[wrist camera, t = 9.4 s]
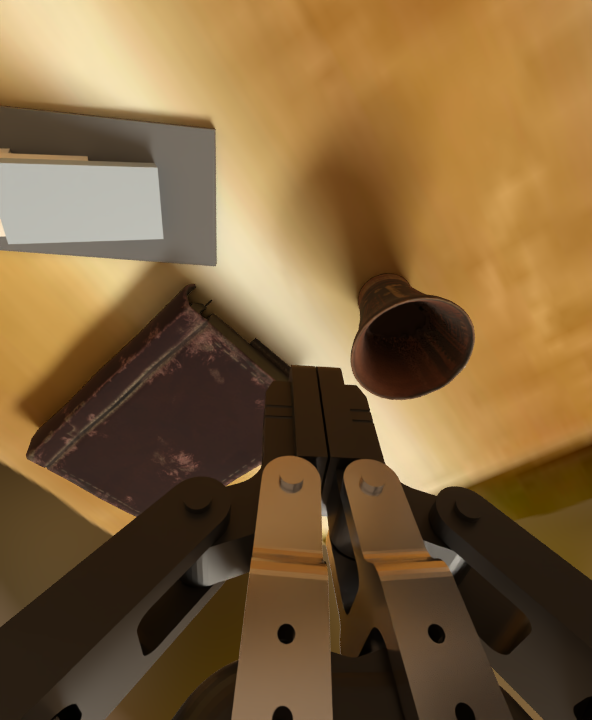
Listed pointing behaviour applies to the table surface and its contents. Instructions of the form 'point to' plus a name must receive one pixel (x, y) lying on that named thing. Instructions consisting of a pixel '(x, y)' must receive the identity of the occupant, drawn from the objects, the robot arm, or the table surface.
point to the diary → (164, 411)
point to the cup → (408, 340)
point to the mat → (130, 144)
